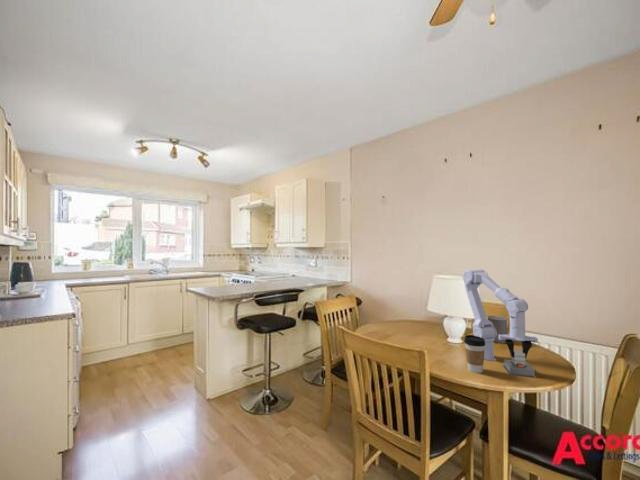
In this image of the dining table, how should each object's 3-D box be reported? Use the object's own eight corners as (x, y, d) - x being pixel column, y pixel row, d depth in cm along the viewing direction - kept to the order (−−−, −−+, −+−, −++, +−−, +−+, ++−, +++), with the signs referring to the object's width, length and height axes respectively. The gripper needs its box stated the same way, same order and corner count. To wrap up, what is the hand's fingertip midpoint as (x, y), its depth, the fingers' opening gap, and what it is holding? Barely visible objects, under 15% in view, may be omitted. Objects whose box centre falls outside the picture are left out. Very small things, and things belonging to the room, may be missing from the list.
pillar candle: (484, 339, 170) (484, 314, 170) (495, 337, 174) (494, 312, 174) (500, 344, 161) (500, 318, 161) (511, 342, 166) (511, 316, 166)
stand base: (509, 375, 124) (509, 365, 124) (502, 366, 133) (502, 357, 133) (536, 378, 121) (536, 368, 121) (527, 368, 130) (527, 359, 130)
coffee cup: (467, 365, 134) (466, 333, 135) (487, 370, 129) (486, 336, 129) (462, 371, 128) (462, 337, 128) (484, 376, 123) (483, 341, 123)
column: (514, 367, 125) (514, 352, 126) (511, 363, 129) (511, 349, 130) (525, 368, 124) (525, 353, 124) (522, 364, 128) (521, 350, 128)
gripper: (501, 327, 126) (502, 358, 125) (540, 330, 121) (541, 362, 121) (496, 323, 132) (497, 353, 132) (533, 325, 128) (534, 356, 128)
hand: (518, 357), depth 127 cm, fingers closed on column, 4 cm apart
